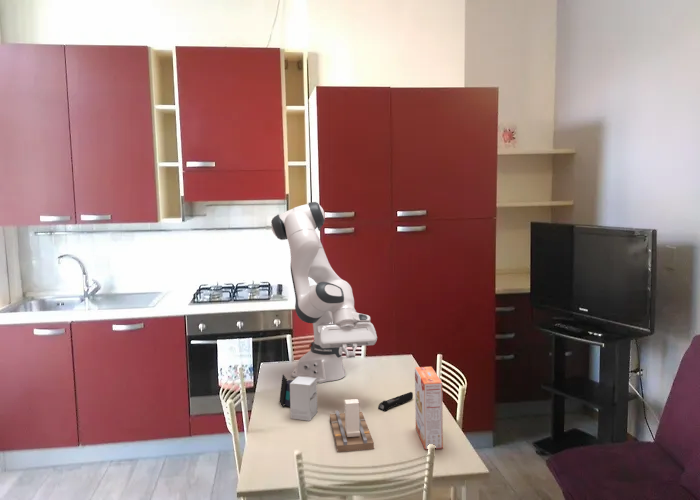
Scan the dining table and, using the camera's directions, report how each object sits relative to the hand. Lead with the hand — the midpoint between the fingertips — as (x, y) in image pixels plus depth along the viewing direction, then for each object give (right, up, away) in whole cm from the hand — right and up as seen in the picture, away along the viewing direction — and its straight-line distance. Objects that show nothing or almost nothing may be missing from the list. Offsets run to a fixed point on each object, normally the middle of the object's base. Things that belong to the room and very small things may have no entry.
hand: (351, 357), depth 182 cm
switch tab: (0, -20, -18) cm, 27 cm away
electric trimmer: (+16, -19, +9) cm, 27 cm away
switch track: (0, -22, -13) cm, 25 cm away
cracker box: (+24, -22, -17) cm, 37 cm away
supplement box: (-16, -21, +1) cm, 26 cm away
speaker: (-22, -19, +11) cm, 31 cm away
